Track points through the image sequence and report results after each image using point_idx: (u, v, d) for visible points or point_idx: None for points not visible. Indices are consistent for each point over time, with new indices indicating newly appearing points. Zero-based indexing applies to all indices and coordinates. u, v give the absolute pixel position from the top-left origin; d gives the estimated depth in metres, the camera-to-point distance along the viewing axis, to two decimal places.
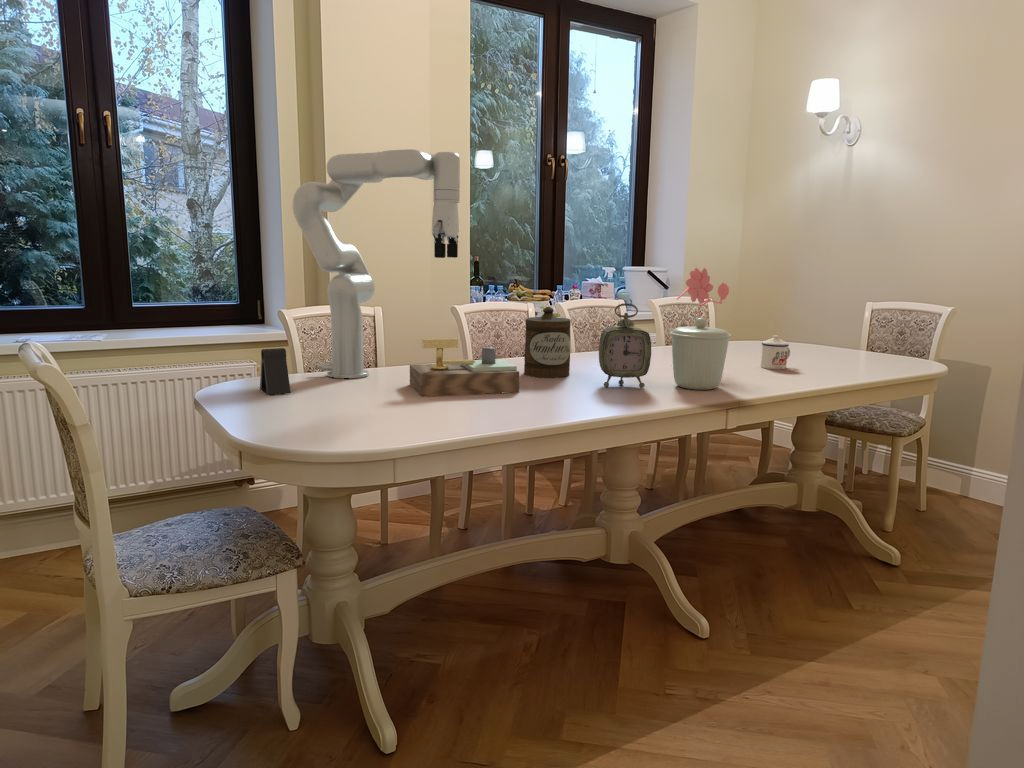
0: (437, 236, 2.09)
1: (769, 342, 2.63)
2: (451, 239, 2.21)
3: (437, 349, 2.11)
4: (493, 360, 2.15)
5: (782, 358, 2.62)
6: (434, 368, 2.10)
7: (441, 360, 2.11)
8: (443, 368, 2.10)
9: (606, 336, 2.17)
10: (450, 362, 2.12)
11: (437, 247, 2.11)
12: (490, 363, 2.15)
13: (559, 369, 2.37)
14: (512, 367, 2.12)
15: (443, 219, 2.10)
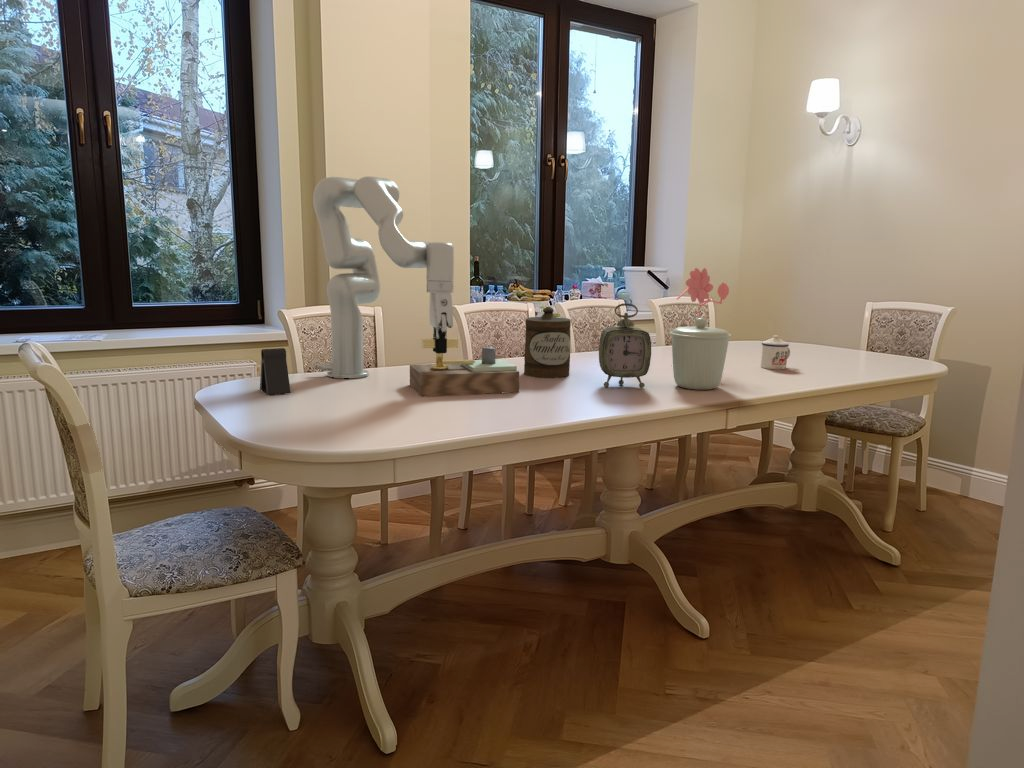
0: None
1: (769, 342, 2.63)
2: None
3: None
4: (493, 360, 2.15)
5: (782, 358, 2.62)
6: (434, 368, 2.10)
7: (441, 360, 2.11)
8: (443, 368, 2.10)
9: (606, 336, 2.17)
10: (450, 362, 2.12)
11: None
12: (490, 363, 2.15)
13: (559, 369, 2.37)
14: (512, 367, 2.12)
15: None
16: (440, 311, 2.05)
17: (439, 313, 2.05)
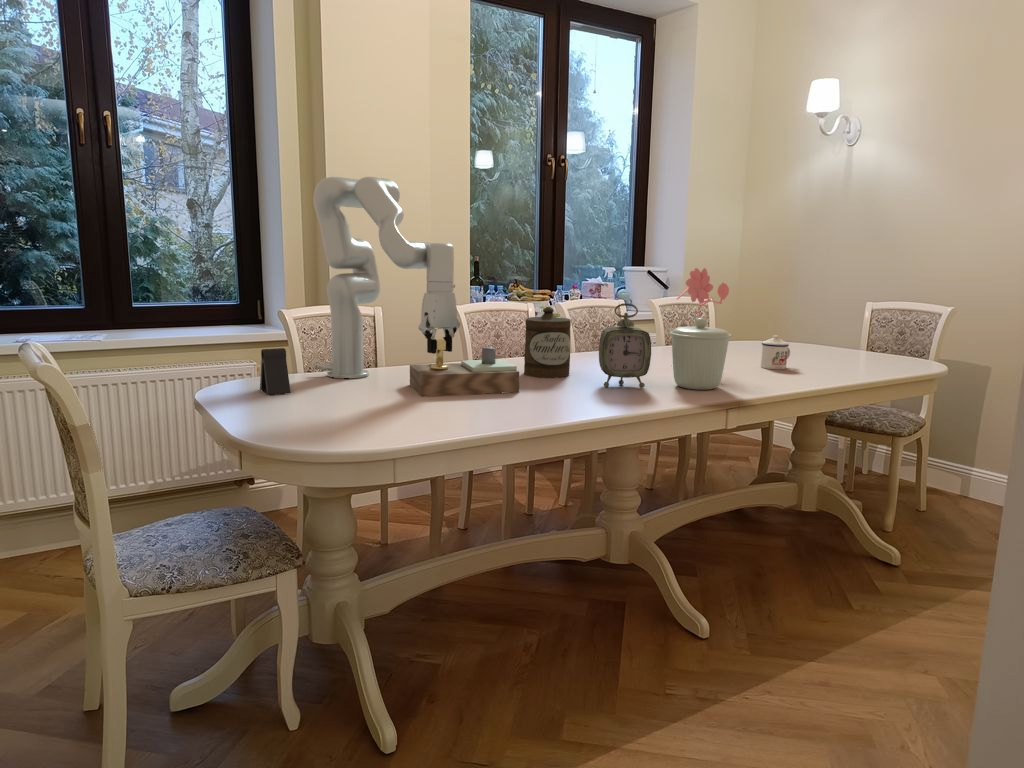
0: (425, 333, 2.06)
1: (769, 342, 2.63)
2: (448, 332, 2.14)
3: (441, 349, 2.11)
4: (493, 360, 2.15)
5: (782, 358, 2.62)
6: (446, 368, 2.11)
7: None
8: None
9: (606, 336, 2.17)
10: None
11: (428, 343, 2.09)
12: (490, 363, 2.15)
13: (559, 369, 2.37)
14: (512, 367, 2.12)
15: (429, 312, 2.05)
16: None
17: None
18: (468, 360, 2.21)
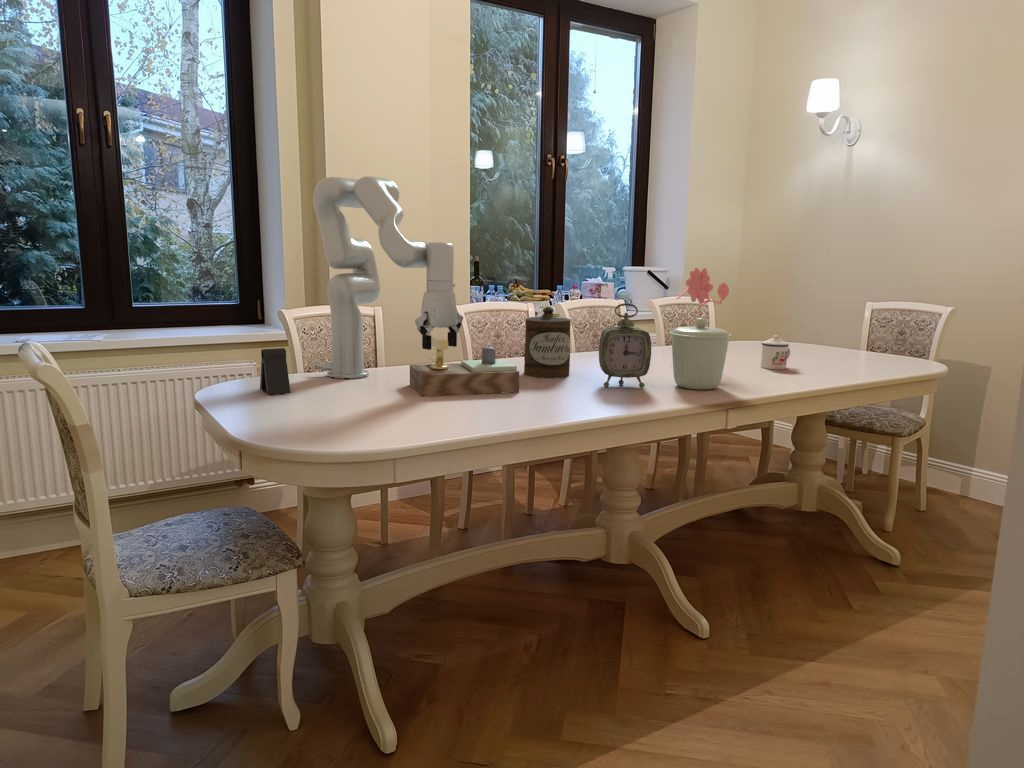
0: (420, 328, 2.05)
1: (769, 342, 2.63)
2: (452, 327, 2.15)
3: (442, 349, 2.11)
4: (493, 360, 2.15)
5: (782, 358, 2.62)
6: (446, 368, 2.11)
7: None
8: None
9: (606, 336, 2.17)
10: None
11: (423, 339, 2.07)
12: (490, 363, 2.15)
13: (559, 369, 2.37)
14: (512, 367, 2.12)
15: (429, 311, 2.05)
16: None
17: None
18: (468, 360, 2.21)
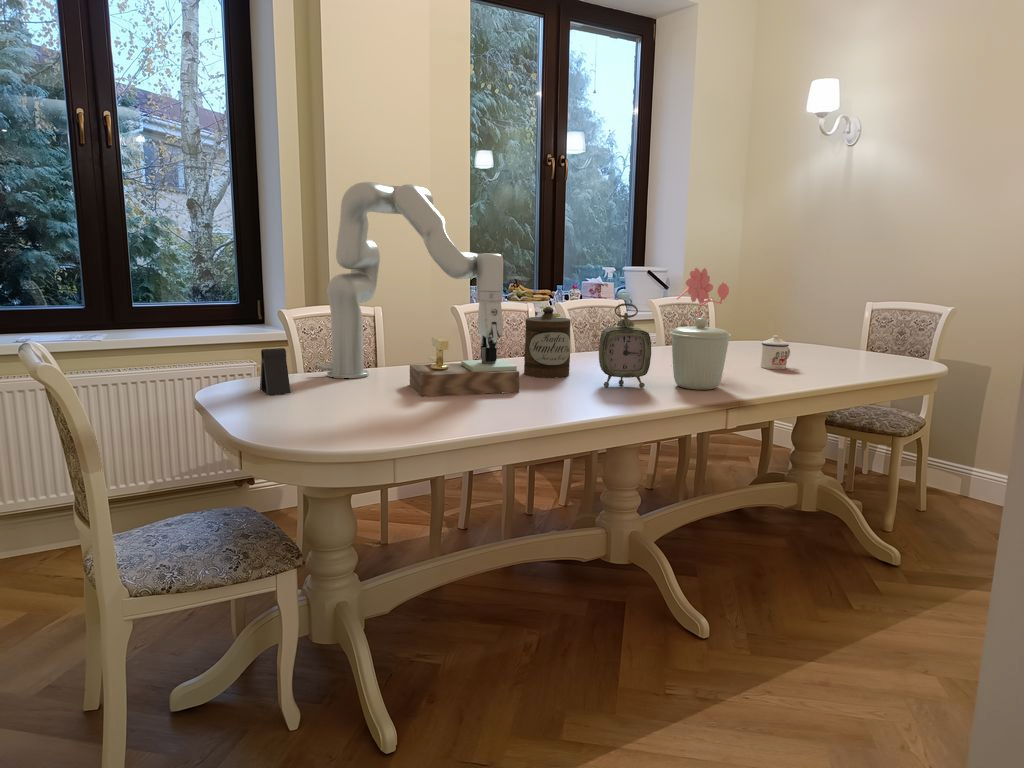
0: None
1: (769, 342, 2.63)
2: None
3: (442, 349, 2.11)
4: None
5: (782, 358, 2.62)
6: (446, 368, 2.11)
7: None
8: None
9: (606, 336, 2.17)
10: None
11: None
12: (490, 363, 2.15)
13: (559, 369, 2.37)
14: (512, 367, 2.12)
15: None
16: (490, 321, 2.10)
17: (489, 322, 2.10)
18: (468, 360, 2.21)
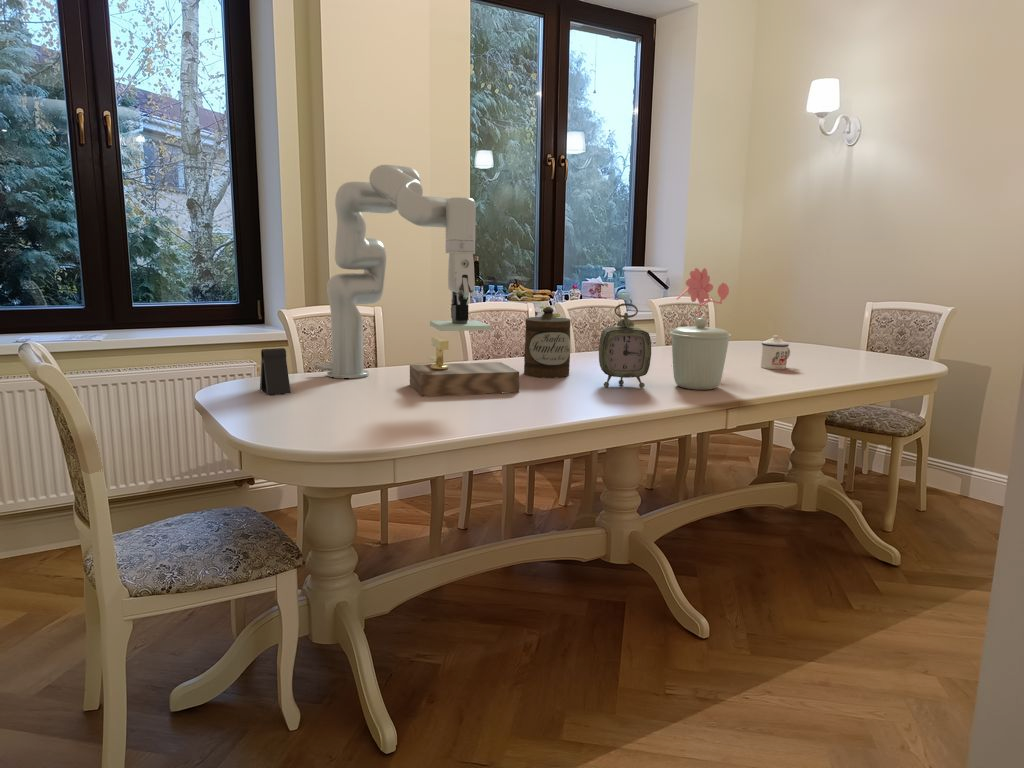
0: None
1: (769, 342, 2.63)
2: None
3: (442, 349, 2.11)
4: None
5: (782, 358, 2.62)
6: (446, 368, 2.11)
7: None
8: None
9: (606, 336, 2.17)
10: None
11: None
12: (461, 322, 1.90)
13: (559, 369, 2.37)
14: (486, 326, 1.88)
15: None
16: (461, 273, 1.85)
17: (460, 275, 1.85)
18: None
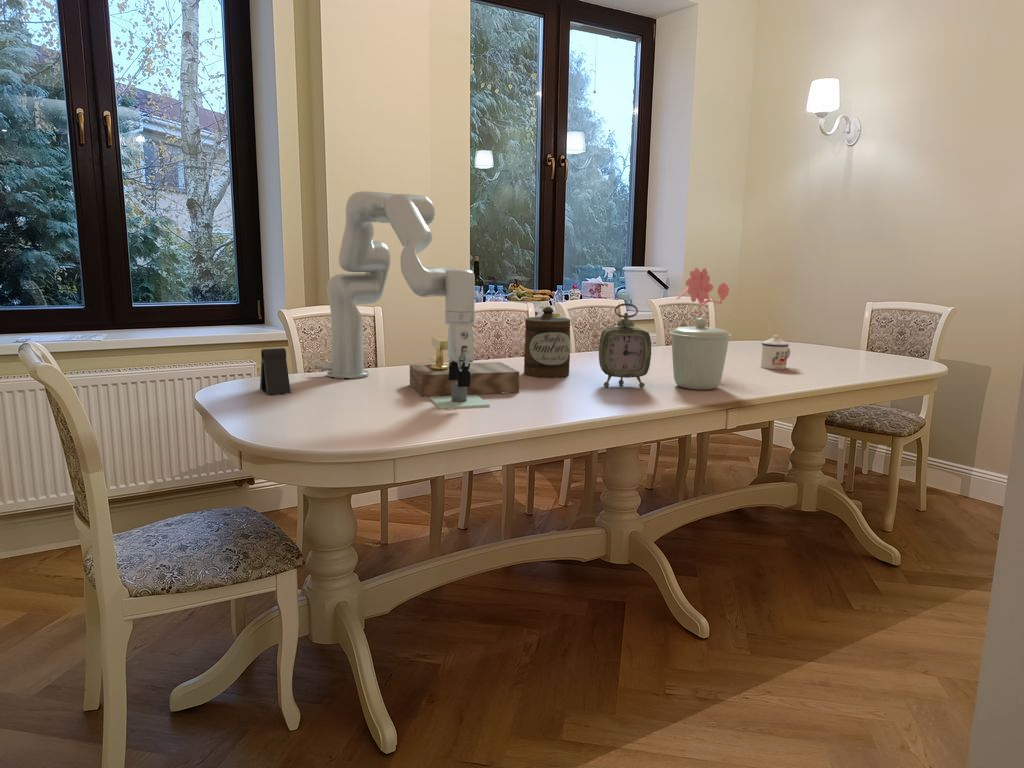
0: None
1: (769, 342, 2.63)
2: None
3: (442, 349, 2.11)
4: (464, 397, 1.95)
5: (782, 358, 2.62)
6: (446, 368, 2.11)
7: None
8: None
9: (606, 336, 2.17)
10: None
11: None
12: (460, 401, 1.94)
13: (559, 369, 2.37)
14: (484, 406, 1.92)
15: None
16: (460, 344, 1.88)
17: (459, 347, 1.88)
18: None
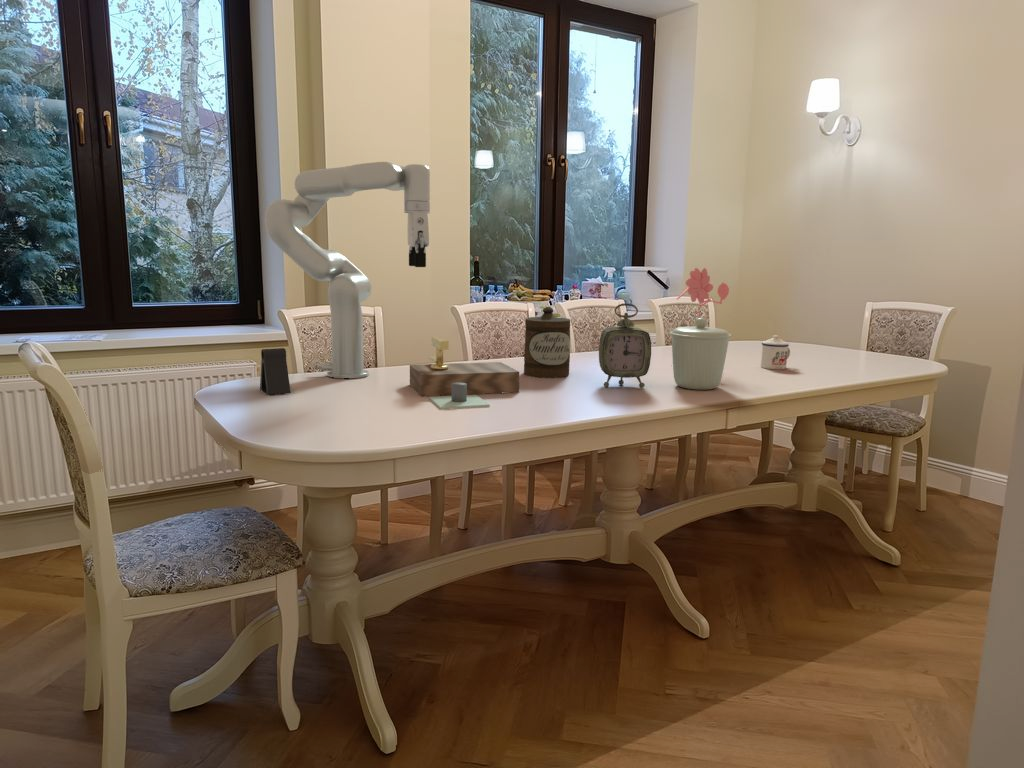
0: None
1: (769, 342, 2.63)
2: None
3: (442, 349, 2.11)
4: (464, 397, 1.95)
5: (782, 358, 2.62)
6: (446, 368, 2.11)
7: None
8: None
9: (606, 336, 2.17)
10: None
11: None
12: (461, 401, 1.94)
13: (559, 369, 2.37)
14: (485, 406, 1.92)
15: None
16: (417, 229, 2.16)
17: (416, 231, 2.16)
18: None
